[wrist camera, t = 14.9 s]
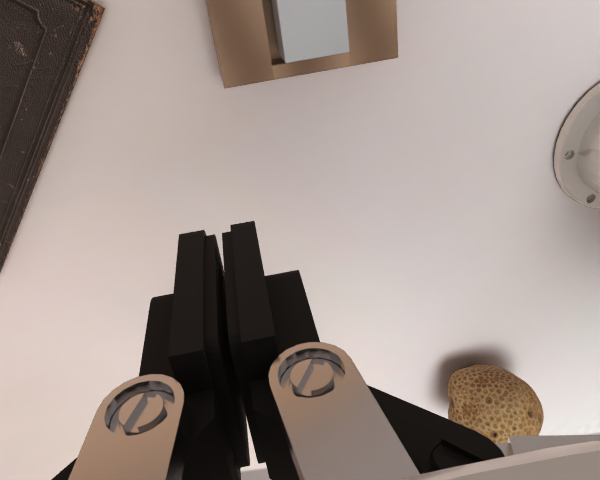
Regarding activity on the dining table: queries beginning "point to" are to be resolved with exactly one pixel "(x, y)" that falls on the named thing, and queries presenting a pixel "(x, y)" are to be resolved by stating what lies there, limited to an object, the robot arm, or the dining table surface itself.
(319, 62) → the wooden key base
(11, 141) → the hardcover book
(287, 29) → the slate key
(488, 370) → the natural sponge
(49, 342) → the dining table surface
